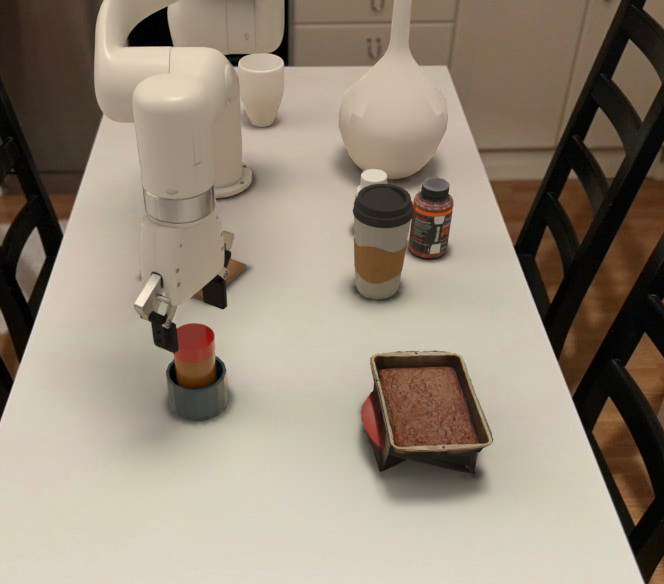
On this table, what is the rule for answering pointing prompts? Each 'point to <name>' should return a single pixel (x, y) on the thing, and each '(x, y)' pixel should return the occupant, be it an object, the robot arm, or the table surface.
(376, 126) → the vase
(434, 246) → the supplement bottle
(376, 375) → the baking dish
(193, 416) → the cup
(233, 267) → the wooden board
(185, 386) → the jar
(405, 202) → the coffee cup
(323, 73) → the table surface
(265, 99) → the mug
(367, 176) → the pill bottle
